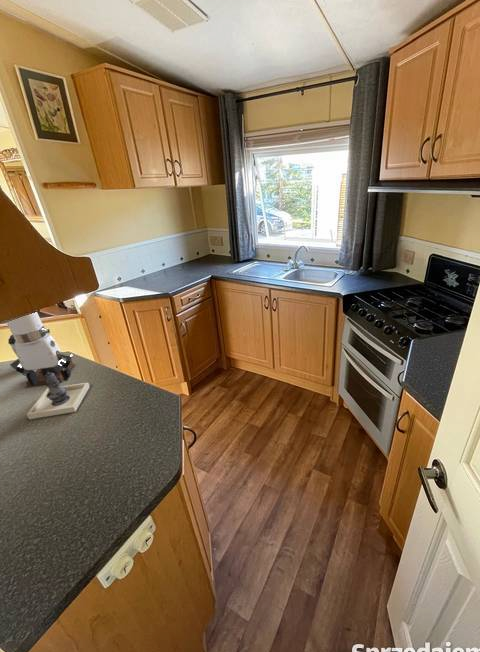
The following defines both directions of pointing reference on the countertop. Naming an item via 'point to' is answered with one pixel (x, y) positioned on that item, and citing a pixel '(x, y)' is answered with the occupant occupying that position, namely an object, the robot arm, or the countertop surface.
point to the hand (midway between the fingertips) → (51, 380)
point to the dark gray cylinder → (49, 370)
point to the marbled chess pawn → (55, 390)
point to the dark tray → (42, 380)
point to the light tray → (47, 409)
